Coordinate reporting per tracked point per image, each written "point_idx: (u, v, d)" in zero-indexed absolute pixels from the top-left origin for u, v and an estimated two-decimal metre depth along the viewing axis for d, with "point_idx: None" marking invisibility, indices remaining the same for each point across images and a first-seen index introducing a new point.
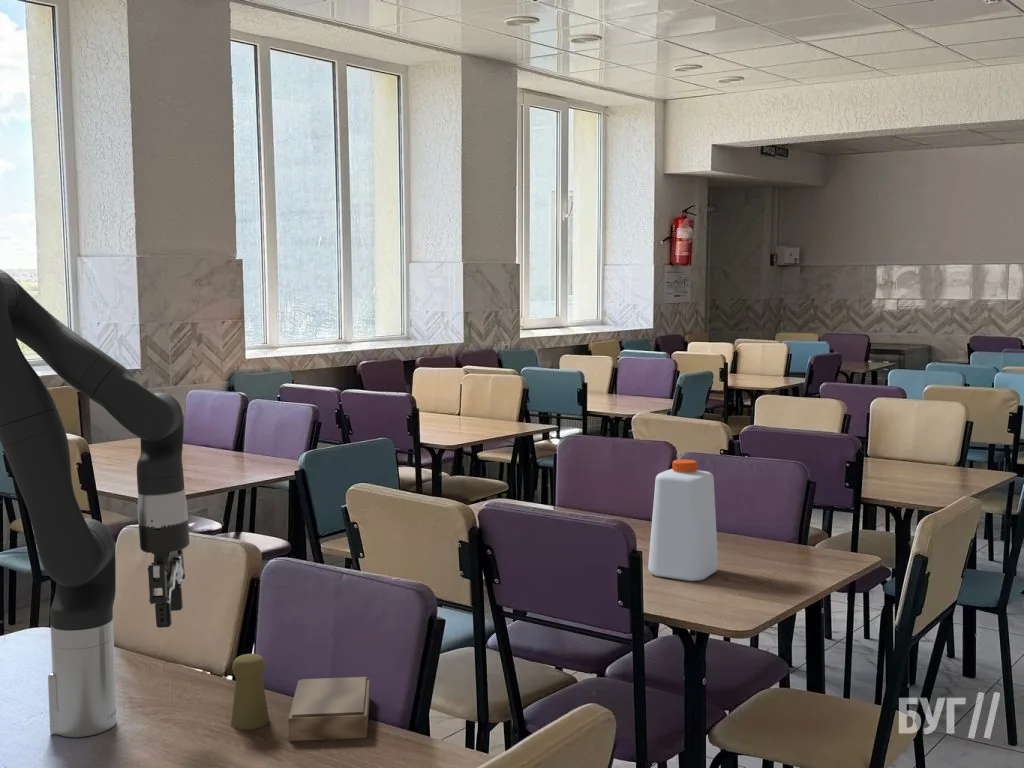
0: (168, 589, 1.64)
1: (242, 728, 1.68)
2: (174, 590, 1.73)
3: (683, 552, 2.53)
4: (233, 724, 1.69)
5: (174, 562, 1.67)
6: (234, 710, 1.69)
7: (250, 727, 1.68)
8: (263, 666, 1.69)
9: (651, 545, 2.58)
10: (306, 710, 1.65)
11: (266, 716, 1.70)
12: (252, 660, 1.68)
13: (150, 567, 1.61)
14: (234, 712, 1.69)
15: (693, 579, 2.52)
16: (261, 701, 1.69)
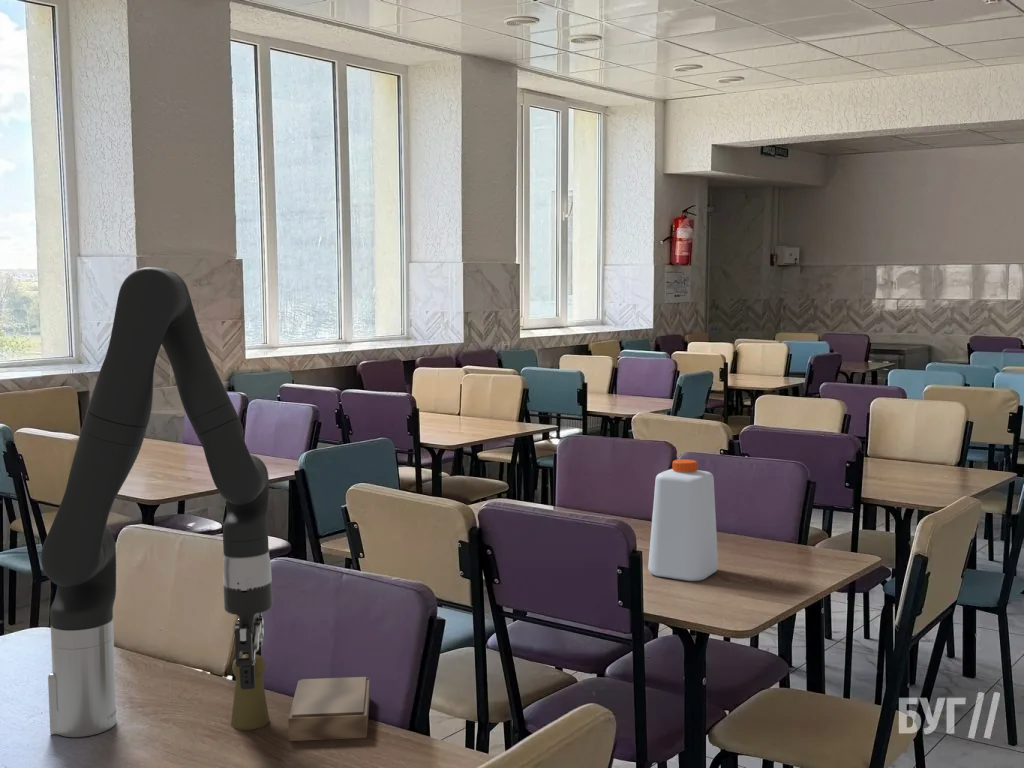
0: (253, 651, 1.65)
1: (242, 728, 1.68)
2: None
3: (683, 552, 2.53)
4: (233, 724, 1.69)
5: (258, 623, 1.68)
6: (234, 710, 1.69)
7: (250, 727, 1.68)
8: (263, 666, 1.69)
9: (651, 545, 2.58)
10: (306, 710, 1.65)
11: (266, 716, 1.70)
12: None
13: (237, 630, 1.62)
14: (234, 712, 1.69)
15: (693, 579, 2.52)
16: (261, 701, 1.69)
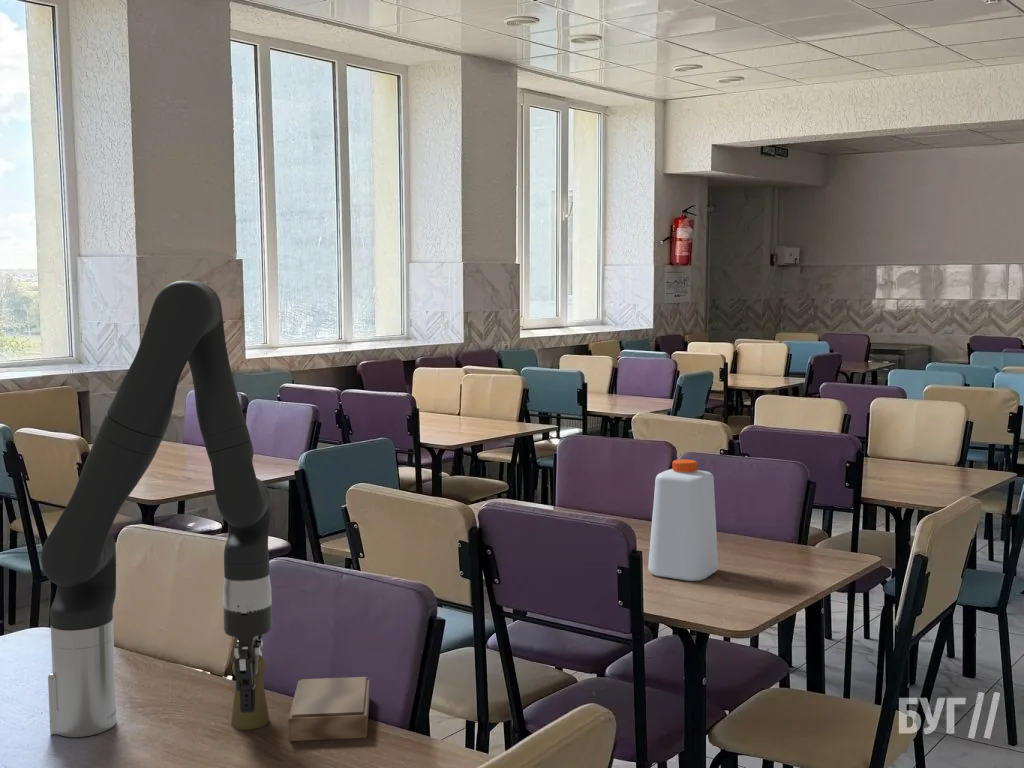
0: (253, 676, 1.67)
1: (242, 728, 1.68)
2: None
3: (683, 552, 2.53)
4: (233, 724, 1.69)
5: (257, 647, 1.68)
6: (234, 710, 1.69)
7: (250, 727, 1.68)
8: (263, 666, 1.69)
9: (651, 545, 2.58)
10: (306, 710, 1.65)
11: (266, 715, 1.70)
12: None
13: (236, 662, 1.63)
14: (234, 712, 1.69)
15: (693, 579, 2.52)
16: (261, 701, 1.69)
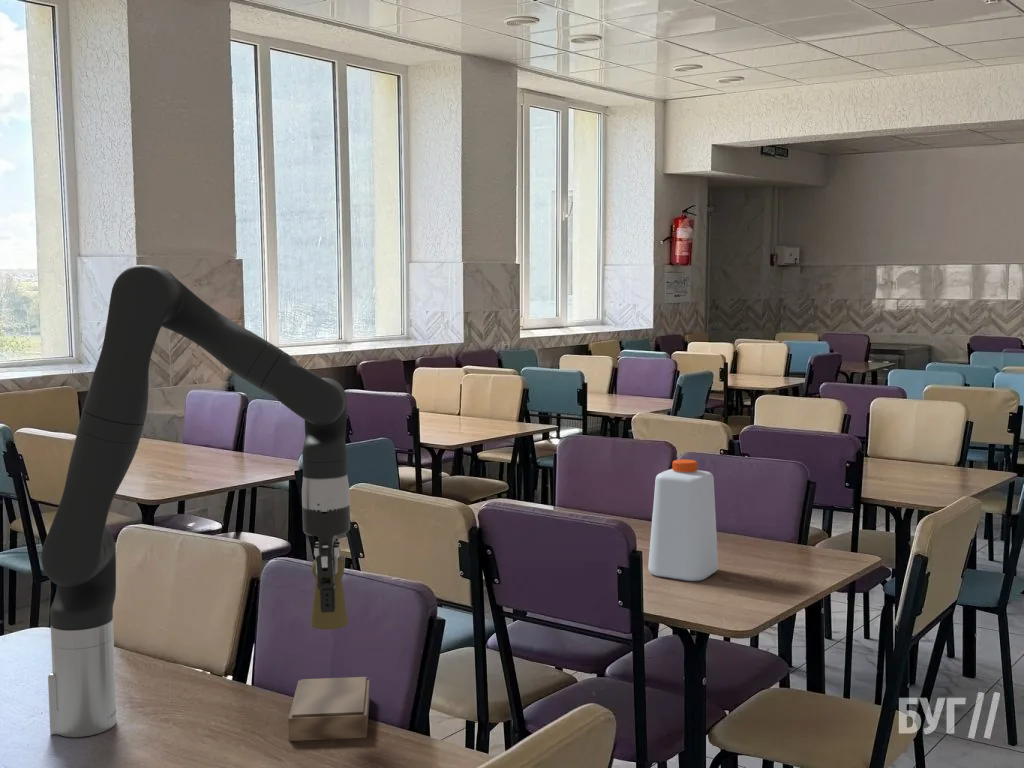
0: (333, 576, 1.67)
1: (323, 628, 1.68)
2: None
3: (683, 552, 2.53)
4: (313, 624, 1.69)
5: (336, 547, 1.68)
6: (314, 610, 1.69)
7: (331, 627, 1.68)
8: (342, 566, 1.69)
9: (651, 545, 2.58)
10: (306, 710, 1.65)
11: (346, 616, 1.70)
12: None
13: (318, 559, 1.63)
14: (314, 613, 1.69)
15: (693, 579, 2.52)
16: (341, 601, 1.69)
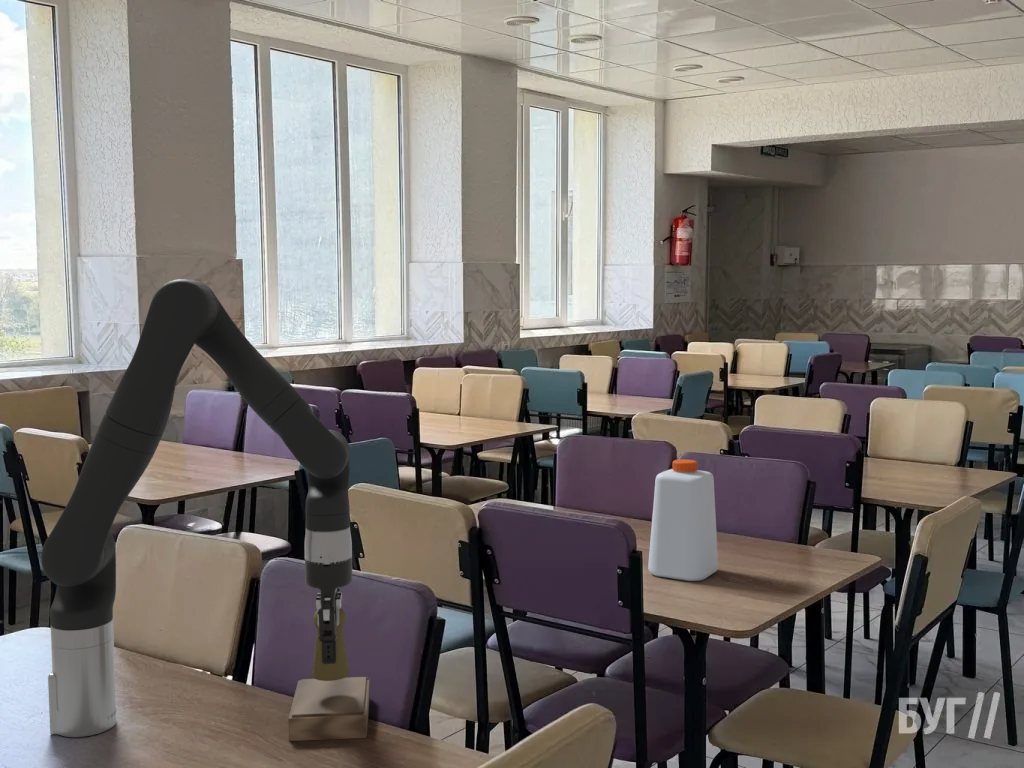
0: (334, 628, 1.68)
1: (324, 679, 1.68)
2: None
3: (683, 552, 2.53)
4: (315, 675, 1.69)
5: (338, 599, 1.69)
6: (315, 662, 1.69)
7: (332, 678, 1.69)
8: (344, 618, 1.70)
9: (651, 545, 2.58)
10: (306, 710, 1.65)
11: (347, 667, 1.71)
12: None
13: (320, 612, 1.64)
14: (315, 664, 1.69)
15: (693, 579, 2.52)
16: (342, 652, 1.70)
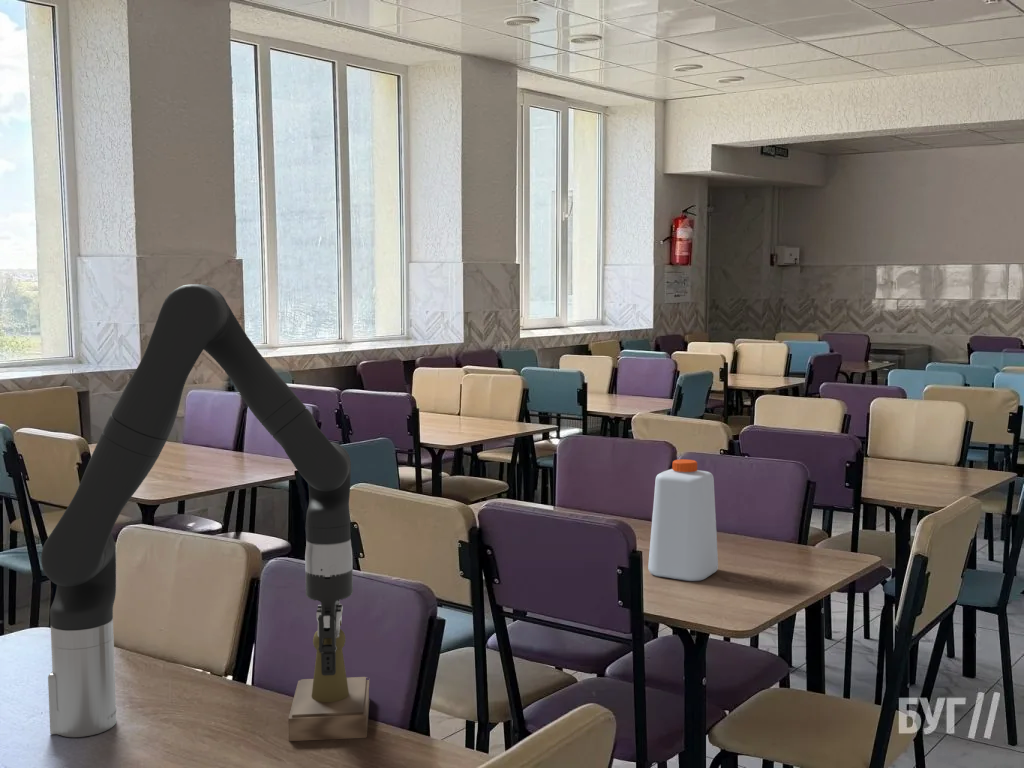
0: (334, 638, 1.67)
1: (324, 700, 1.69)
2: None
3: (683, 552, 2.53)
4: (314, 697, 1.70)
5: (339, 610, 1.69)
6: (315, 683, 1.70)
7: (332, 699, 1.69)
8: (344, 639, 1.70)
9: (651, 545, 2.58)
10: (306, 710, 1.65)
11: (347, 688, 1.71)
12: None
13: (321, 617, 1.64)
14: (315, 685, 1.70)
15: (693, 579, 2.52)
16: (341, 674, 1.70)
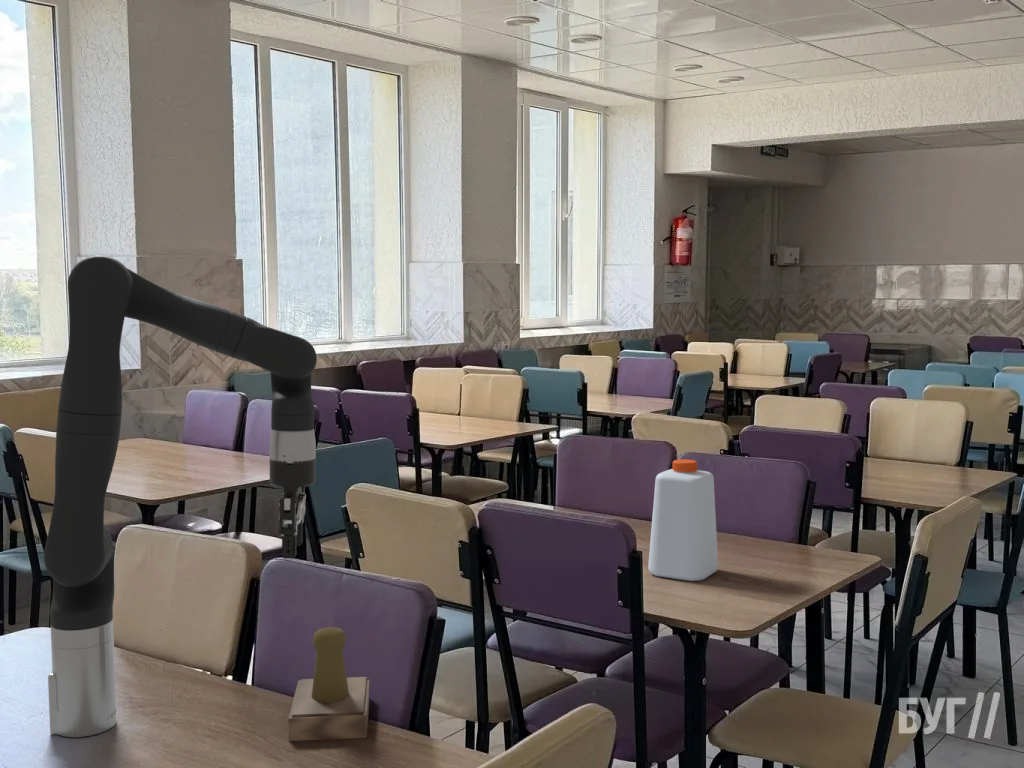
0: (295, 522, 1.72)
1: (324, 700, 1.69)
2: None
3: (683, 552, 2.53)
4: (314, 697, 1.70)
5: (301, 497, 1.74)
6: (315, 683, 1.70)
7: (332, 699, 1.69)
8: (344, 639, 1.70)
9: (651, 545, 2.58)
10: (306, 710, 1.65)
11: (347, 688, 1.71)
12: (333, 633, 1.69)
13: (281, 499, 1.69)
14: (315, 685, 1.70)
15: (693, 579, 2.52)
16: (341, 674, 1.70)
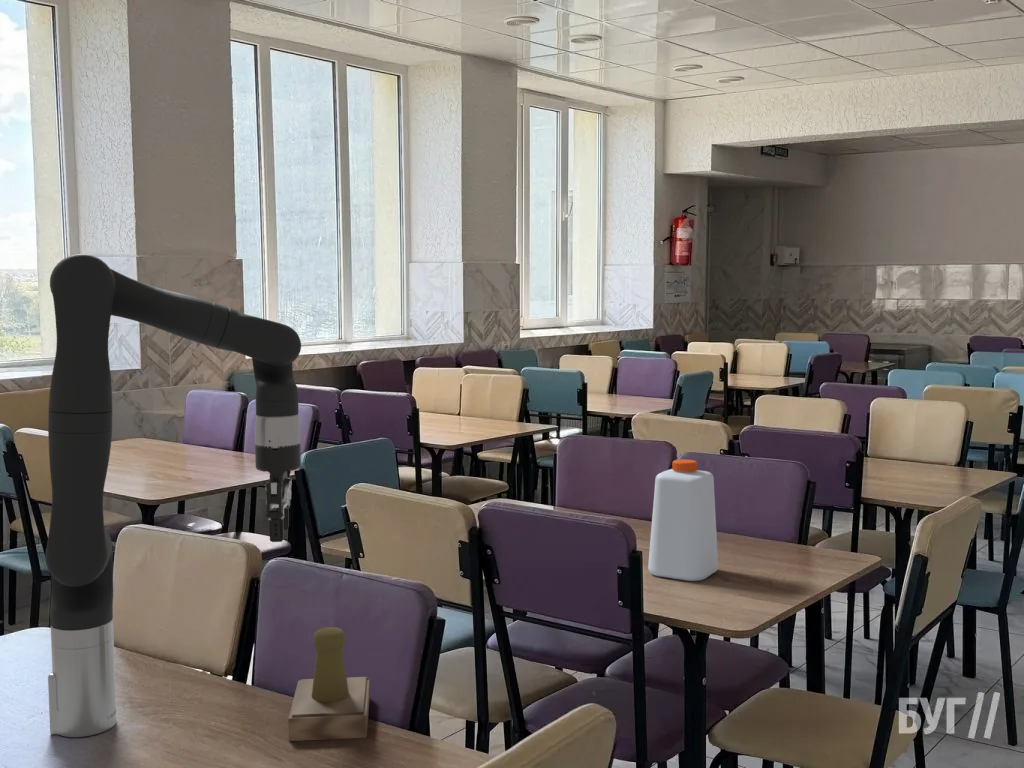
0: (282, 506, 1.75)
1: (324, 700, 1.69)
2: None
3: (683, 552, 2.53)
4: (314, 697, 1.70)
5: (287, 482, 1.77)
6: (315, 683, 1.70)
7: (332, 699, 1.69)
8: (344, 639, 1.70)
9: (651, 545, 2.58)
10: (306, 710, 1.65)
11: (347, 688, 1.71)
12: (333, 633, 1.69)
13: (268, 483, 1.72)
14: (315, 685, 1.70)
15: (693, 579, 2.52)
16: (341, 674, 1.70)
